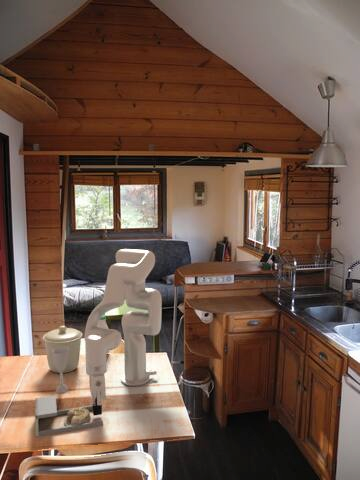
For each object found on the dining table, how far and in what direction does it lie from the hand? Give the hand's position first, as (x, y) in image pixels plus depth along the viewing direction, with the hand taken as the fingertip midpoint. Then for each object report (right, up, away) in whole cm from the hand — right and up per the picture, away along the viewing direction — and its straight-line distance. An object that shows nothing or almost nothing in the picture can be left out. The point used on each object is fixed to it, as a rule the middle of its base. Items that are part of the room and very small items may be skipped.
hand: (97, 413), depth 164 cm
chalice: (-19, +1, +21) cm, 29 cm away
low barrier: (-10, -2, -3) cm, 11 cm away
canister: (-24, +4, +43) cm, 49 cm away
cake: (-7, -2, -3) cm, 8 cm away
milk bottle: (-9, +7, +62) cm, 63 cm away
